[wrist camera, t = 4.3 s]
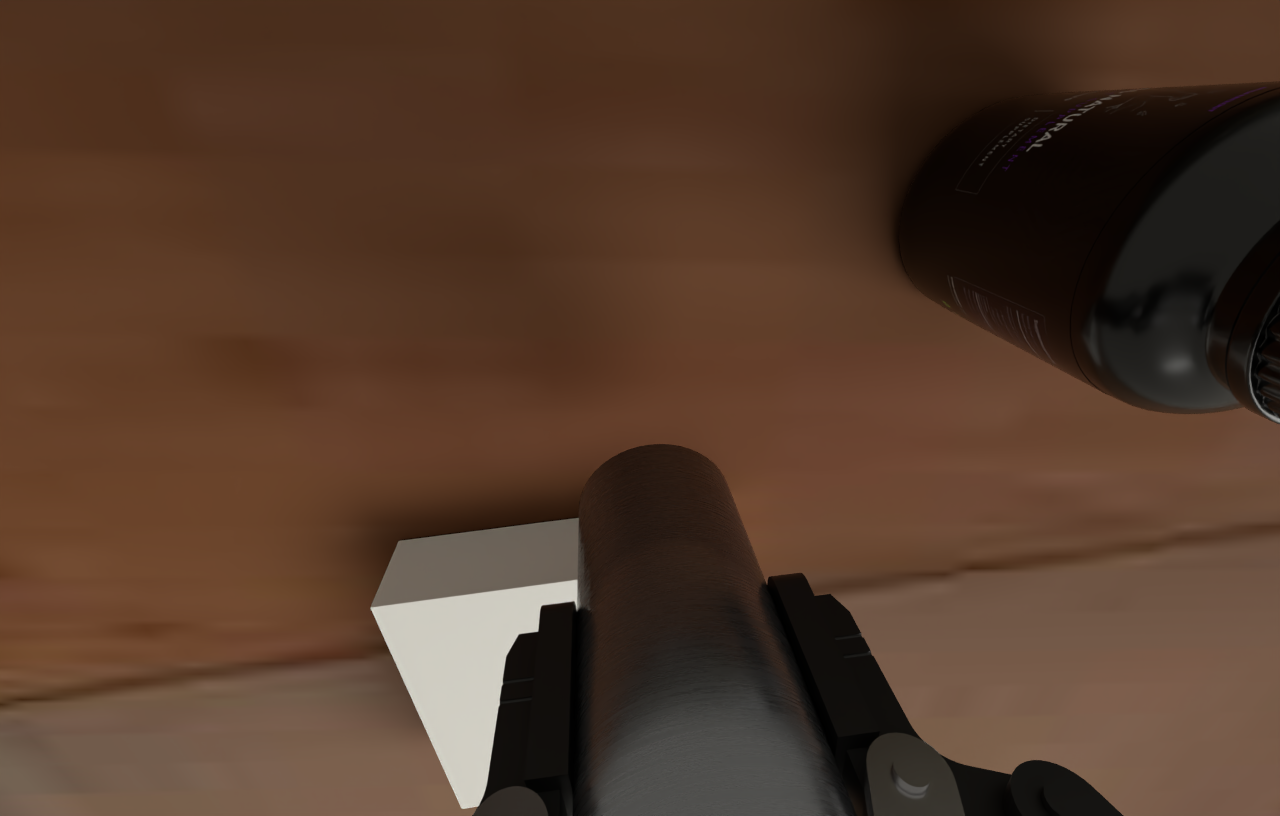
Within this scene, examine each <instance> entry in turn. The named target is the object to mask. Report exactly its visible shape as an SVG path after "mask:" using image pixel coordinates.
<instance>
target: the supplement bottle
mask: <svg viewBox="0 0 1280 816" xmlns="http://www.w3.org/2000/svg"><path fill="white" fill-rule="evenodd" d="M899 244H900V252H901V257H902V261H903V264H904V267H905V269H906V271H907V273H908V275H909V277H910V279H911V280H912V282H913V283H914V284H915V286H916V287H917V288H918V289H919V290H920V291H921V292H922V293H923V294H924V295H925V296H927V297H928V298H929V299H931V300H932V301H934V302H936V303H937V304H939V305H941V306H942V307H944V308H946V309H948V310H949V311H951V312H953V313H955V314H957V315H959V316H960V317H962V318H964V319H966V320H968V321H970V322H972V323H974V324H975V325H977V326H979V327H981V328H983V329H985V330H987V331H989V332H990V333H992V334H994V335H996V336H998V337H1000V338H1002V339H1004V340H1005V341H1007V342H1009V343H1011V344H1013V345H1015V346H1017V347H1019V348H1020V349H1022V350H1024V351H1026V352H1028V353H1030V354H1032V355H1034V356H1035V357H1037V358H1039V359H1041V360H1043V361H1045V362H1047V363H1049V364H1050V365H1052V366H1054V367H1056V368H1058V369H1060V370H1062V371H1064V372H1066V373H1067V374H1069V375H1071V376H1073V377H1075V378H1077V379H1079V380H1081V381H1082V382H1084V383H1086V384H1088V385H1090V386H1092V387H1094V388H1096V389H1097V390H1099V391H1101V392H1103V393H1105V394H1107V395H1110V396H1112V397H1114V398H1116V399H1118V400H1120V401H1123V402H1125V403H1127V404H1129V405H1132V406H1135V407H1138V408H1141V409H1145V410H1149V411H1155V412H1162V413H1174V414H1204V413H1214V412H1222V411H1228V410H1233V409H1238V408H1243V407H1245V408H1246V409H1248V410H1250V411H1251V412H1253V413H1255V414H1257V415H1260V416H1262V417H1264V418H1266V419H1268V420H1270V421H1272V422H1275V423H1277V424H1280V82H1262V83H1242V84H1222V85H1203V86H1183V87H1163V88H1144V89H1124V90H1104V91H1085V92H1065V93H1052V94H1038V95H1028V96H1021V97H1017V98H1012V99H1008V100H1005V101H1002V102H999V103H996V104H994V105H992V106H989V107H987V108H985V109H983V110H981V111H980V112H978V113H976V114H974V115H973V116H971V117H969V118H968V119H966V120H965V121H964V122H962V123H961V124H960V125H958V126H957V127H956V128H955V129H953V130H952V131H951V132H950V133H949V134H948V135H947V136H946V137H945V138H944V139H943V140H942V141H941V142H940V143H939V144H938V145H937V146H936V147H935V149H934V150H933V151H932V152H931V154H930V155H929V156H928V157H927V159H926V160H925V162H924V163H923V165H922V166H921V168H920V169H919V171H918V173H917V174H916V176H915V178H914V180H913V182H912V184H911V186H910V189H909V191H908V194H907V196H906V199H905V202H904V206H903V210H902V214H901V220H900V229H899Z"/></svg>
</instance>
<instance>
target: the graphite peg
mask: <svg viewBox="0 0 1280 816" xmlns="http://www.w3.org/2000/svg"><path fill="white" fill-rule="evenodd" d="M573 816H857V814H856V812H855V809H854V806H853V804H852V801H851V799H850V796H849V794H848V791H847V789H846V786H845V783H844V781H843V778H842V776H841V773H840V771H839V768H838V766H837V763H836V760H835V758H834V755H833V753H832V750H831V748H830V745H829V743H828V740H827V737H826V735H825V732H824V730H823V727H822V725H821V722H820V720H819V717H818V714H817V712H816V709H815V707H814V704H813V702H812V699H811V697H810V694H809V691H808V689H807V686H806V684H805V681H804V679H803V676H802V674H801V671H800V668H799V666H798V663H797V661H796V658H795V656H794V653H793V650H792V648H791V645H790V643H789V640H788V638H787V635H786V633H785V630H784V627H783V625H782V622H781V620H780V617H779V615H778V612H777V610H776V607H775V604H774V602H773V599H772V597H771V594H770V592H769V589H768V587H767V584H766V581H765V579H764V576H763V574H762V571H761V569H760V566H759V564H758V561H757V558H756V556H755V553H754V551H753V548H752V546H751V543H750V541H749V538H748V535H747V533H746V530H745V528H744V525H743V523H742V520H741V518H740V515H739V512H738V510H737V507H736V505H735V502H734V500H733V497H732V495H731V492H730V489H729V487H728V484H727V482H726V480H725V477H724V476H723V474H722V473H721V471H720V470H719V469H718V467H717V466H716V465H715V464H714V463H713V462H711V461H710V460H709V459H708V458H706V457H705V456H703V455H702V454H700V453H698V452H696V451H693V450H691V449H688V448H685V447H681V446H676V445H667V444H654V445H646V446H640V447H636V448H633V449H629V450H627V451H624V452H622V453H620V454H618V455H616V456H614V457H612V458H611V459H609V460H608V461H606V462H605V463H604V464H602V465H601V466H600V467H599V468H598V469H597V470H596V471H595V472H594V473H593V475H592V476H591V477H590V478H589V480H588V482H587V483H586V485H585V487H584V489H583V492H582V494H581V498H580V502H579V529H578V578H577V644H576V695H575V746H574V796H573Z"/></svg>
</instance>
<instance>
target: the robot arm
mask: <svg viewBox="0 0 1280 816" xmlns="http://www.w3.org/2000/svg"><path fill="white" fill-rule="evenodd" d="M767 587H768V589H769V592H770V594H771V597H772V599H773V602H774V604H775V607H776V610H777V612H778V615H779V617H780V620H781V622H782V625H783V627H784V630H785V633H786V635H787V638H788V640H789V643H790V645H791V648H792V650H793V653H794V656H795V658H796V661H797V663H798V666H799V668H800V671H801V674H802V676H803V679H804V681H805V684H806V686H807V689H808V691H809V694H810V697H811V699H812V702H813V704H814V707H815V709H816V712H817V714H818V717H819V720H820V722H821V725H822V727H823V730H824V732H825V735H826V737H827V740H828V743H829V745H830V748H831V750H832V753H833V755H834V758H835V760H836V763H837V766H838V768H839V771H840V773H841V776H842V778H843V781H844V783H845V786H846V789H847V791H848V794H849V796H850V799H851V801H852V804H853V806H854V809H855V812H856V814H857V816H1123V815H1122V814H1121V813H1120V812H1119V811H1118V810H1117V809H1116V808H1115V807H1114V806H1112V805H1111V804H1110V803H1109V802H1108V801H1107V800H1106V799H1105V798H1104V797H1103V796H1102V795H1101V794H1100V793H1099V792H1097V791H1096V790H1095V789H1094V788H1093V787H1092V786H1091V785H1090V784H1089V783H1087V782H1086V781H1085V780H1084V779H1082V778H1081V777H1080V776H1078V775H1077V774H1075V773H1074V772H1072V771H1070V770H1068V769H1067V768H1064V767H1062V766H1060V765H1057V764H1054V763H1051V762H1047V761H1041V760H1032V761H1026V762H1024V763H1022V764H1020V765H1019V766H1018V767H1016V769H1015V770H1014V772H1013V773H1012V775H1011V774H1006V773H1001V772H996V771H991V770H986V769H981V768H976V767H971V766H967V765H963V764H960V763H957V762H954V761H952V760H950V759H948V758H946V757H944V756H942V755H940V754H939V753H938V752H937V751H936V750H935V749H934V748H933V747H931V746H930V745H929V744H927V743H926V742H924V741H923V740H922V739H921V738H920V737H919V736H918V734H917V733H916V732H915V731H914V729H913V728H912V726H911V724H910V723H909V721H908V719H907V717H906V715H905V714H904V712H903V710H902V708H901V706H900V704H899V702H898V701H897V699H896V697H895V695H894V693H893V691H892V689H891V688H890V686H889V684H888V682H887V680H886V678H885V677H884V675H883V673H882V671H881V669H880V667H879V665H878V664H877V662H876V660H875V658H874V656H872V655H871V651H870V649H869V647H868V645H867V643H866V641H865V639H864V638H862V636H861V632H860V630H859V628H858V626H857V625H856V623H855V621H854V619H853V617H852V615H851V613H850V612H849V611H848V610H847V609H846V608H845V607H844V606H843V605H842V604H841V603H839V602H838V601H837V600H836V599H835V598H834V597H833V596H832V595H831V594H827V595H819V596H814V594H813V592H812V590H811V588H810V585H809V583H808V581H807V579H806V577H805V576H804V575H803V574H802V573H794V574H787V575H779V576H771V577H769V578H768V584H767ZM576 644H577V609H576V604H575V602H574V601H572V602H565V603H557V604H549V605H542V606H541V609H540V617H539V628H538V632H531V633H524V634H519V635H518V637H517V638H516V640H515V642H514V644H513V645H512V647H511V649H510V650H509V652H508V654H507V656H506V661H505V667H504V674H503V685H502V687H501V694H500V706H499V707H498V714H497V720H496V727H495V734H494V740H493V747H492V754H491V760H490V767H489V774H488V780H487V785H486V790H485V792H484V795H483V798H482V800H481V802H480V804H479V806H478V808H477V809H476V811H475V813H474V814H473V815H472V816H573V796H574V746H575V695H576Z"/></svg>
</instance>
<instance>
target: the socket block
mask: <svg viewBox="0 0 1280 816" xmlns="http://www.w3.org/2000/svg"><path fill="white" fill-rule="evenodd" d="M578 529H579V518H573V519H565V520H558V521H550V522H542V523H534V524H526V525H518V526H511V527H503V528H495V529H487V530H479V531H472V532H464V533H456V534H448V535H440V536H433V537H425V538H417V539H409V540H401V541H398V544H397V546H396V548H395V551H394V553H393V555H392V558H391V560H390V563H389V565H388V567H387V570H386V572H385V574H384V577H383V579H382V581H381V584H380V586H379V588H378V591H377V593H376V595H375V598H374V600H373V602H372V605H371V607H370V608H371V610H372V613H373V615H374V617H375V619H376V621H377V623H378V626H379V628H380V630H381V632H382V634H383V637H384V639H385V641H386V643H387V645H388V648H389V650H390V652H391V654H392V656H393V659H394V661H395V663H396V665H397V667H398V670H399V672H400V674H401V676H402V678H403V681H404V683H405V685H406V687H407V689H408V692H409V694H410V696H411V698H412V700H413V703H414V705H415V707H416V709H417V711H418V714H419V716H420V718H421V720H422V722H423V725H424V727H425V729H426V731H427V733H428V736H429V738H430V740H431V742H432V744H433V747H434V749H435V751H436V753H437V755H438V758H439V760H440V762H441V764H442V766H443V769H444V771H445V773H446V775H447V777H448V780H449V782H450V784H451V786H452V788H453V791H454V793H455V795H456V797H457V799H458V802H459V804H460V806H461V808H462V809H465V808H471V807H477V806H479V804H480V802H481V800H482V798H483V795H484V792H485V790H486V785H487V780H488V774H489V767H490V760H491V754H492V747H493V740H494V734H495V727H496V720H497V714H498V707H499V706H500V694H501V687H502V685H503V674H504V667H505V661H506V656H507V654H508V652H509V650H510V649H511V647H512V645H513V644H514V642H515V640H516V638H517V637H518V635H519V634H524V633H531V632H538V628H539V617H540V609H541V606H542V605H549V604H557V603H565V602H572V601H574V602H575V604H576V609H577V578H578Z"/></svg>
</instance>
